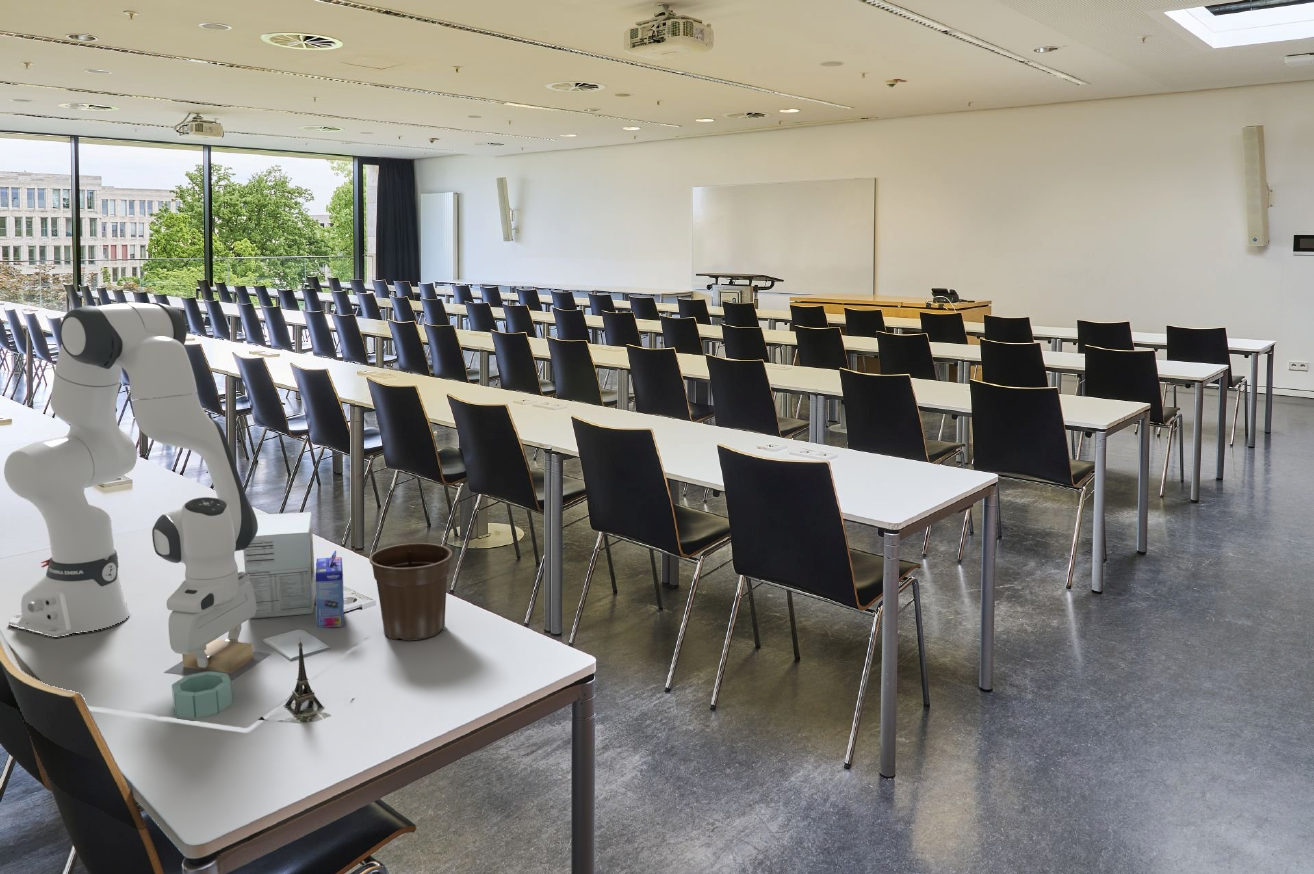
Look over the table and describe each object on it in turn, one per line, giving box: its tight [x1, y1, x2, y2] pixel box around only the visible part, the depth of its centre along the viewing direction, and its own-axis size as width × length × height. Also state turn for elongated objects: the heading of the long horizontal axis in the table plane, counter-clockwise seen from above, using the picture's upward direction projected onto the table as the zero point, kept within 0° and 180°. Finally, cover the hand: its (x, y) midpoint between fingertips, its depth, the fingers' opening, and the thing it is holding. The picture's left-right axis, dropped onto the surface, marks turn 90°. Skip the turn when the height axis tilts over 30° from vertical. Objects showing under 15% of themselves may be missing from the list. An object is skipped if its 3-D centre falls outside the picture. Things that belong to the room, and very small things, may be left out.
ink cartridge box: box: [315, 550, 345, 629], centre depth 205 cm, size 10×6×14 cm, turn 18°
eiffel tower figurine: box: [257, 641, 355, 724], centre depth 168 cm, size 15×10×13 cm
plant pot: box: [368, 542, 453, 641], centre depth 201 cm, size 16×16×16 cm
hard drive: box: [262, 629, 332, 661], centre depth 193 cm, size 2×8×12 cm
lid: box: [182, 638, 254, 673], centre depth 184 cm, size 10×6×3 cm, turn 77°
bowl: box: [171, 671, 233, 722], centre depth 168 cm, size 9×9×4 cm
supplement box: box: [242, 511, 316, 620], centre depth 214 cm, size 17×13×18 cm
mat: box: [163, 651, 272, 682], centre depth 184 cm, size 14×12×1 cm
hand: (218, 657), depth 184 cm, fingers closed on lid, 6 cm apart
